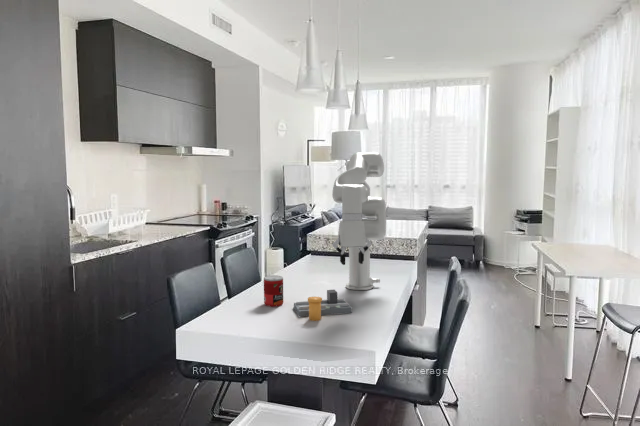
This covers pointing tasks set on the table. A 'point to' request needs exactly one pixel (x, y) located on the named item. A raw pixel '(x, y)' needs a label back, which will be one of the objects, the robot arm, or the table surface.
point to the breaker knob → (331, 297)
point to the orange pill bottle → (314, 308)
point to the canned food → (273, 290)
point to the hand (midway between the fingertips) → (352, 263)
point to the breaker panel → (323, 307)
